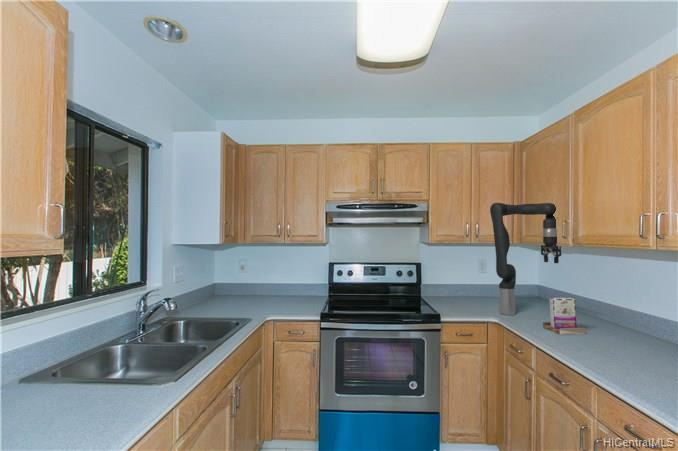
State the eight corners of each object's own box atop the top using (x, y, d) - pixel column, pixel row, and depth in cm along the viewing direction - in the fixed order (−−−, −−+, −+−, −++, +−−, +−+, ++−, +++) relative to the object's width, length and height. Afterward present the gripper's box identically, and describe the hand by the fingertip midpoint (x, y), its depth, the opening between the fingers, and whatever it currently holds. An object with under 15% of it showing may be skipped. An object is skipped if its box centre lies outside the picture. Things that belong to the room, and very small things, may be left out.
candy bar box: (571, 326, 180) (570, 297, 181) (576, 329, 175) (575, 299, 176) (550, 326, 182) (549, 297, 183) (554, 328, 177) (553, 298, 178)
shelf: (543, 327, 185) (542, 322, 185) (566, 326, 186) (566, 321, 186) (560, 335, 171) (560, 328, 171) (585, 334, 172) (585, 328, 172)
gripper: (565, 235, 189) (565, 263, 189) (547, 235, 204) (548, 261, 203) (552, 236, 189) (553, 263, 188) (536, 236, 203) (537, 261, 203)
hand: (551, 262), depth 196 cm, fingers open, 8 cm apart
